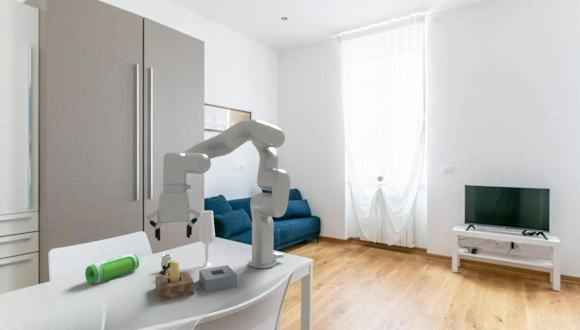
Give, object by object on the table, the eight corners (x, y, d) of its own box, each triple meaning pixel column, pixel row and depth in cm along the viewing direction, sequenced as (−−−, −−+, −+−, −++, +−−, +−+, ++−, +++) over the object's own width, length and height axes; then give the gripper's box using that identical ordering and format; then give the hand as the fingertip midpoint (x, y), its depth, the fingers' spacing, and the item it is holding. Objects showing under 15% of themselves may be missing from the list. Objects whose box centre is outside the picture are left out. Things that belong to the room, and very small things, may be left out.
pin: (178, 288, 108) (178, 260, 108) (179, 291, 106) (179, 262, 105) (169, 290, 107) (169, 261, 107) (170, 293, 104) (170, 264, 104)
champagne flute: (216, 264, 136) (216, 210, 135) (212, 269, 129) (213, 212, 128) (200, 264, 136) (201, 209, 135) (196, 269, 129) (197, 212, 128)
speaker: (129, 268, 129) (129, 250, 129) (140, 272, 126) (140, 254, 125) (84, 283, 114) (84, 263, 114) (95, 287, 111) (94, 267, 110)
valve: (157, 271, 127) (160, 281, 116) (157, 255, 127) (160, 264, 116) (174, 268, 130) (178, 278, 120) (174, 253, 130) (178, 261, 119)
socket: (227, 277, 121) (227, 265, 121) (236, 288, 111) (236, 274, 111) (199, 282, 116) (199, 269, 115) (206, 294, 106) (206, 280, 106)
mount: (188, 284, 114) (188, 271, 114) (194, 297, 104) (194, 282, 104) (155, 290, 108) (155, 276, 108) (158, 304, 99) (158, 288, 99)
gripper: (198, 187, 113) (197, 233, 113) (146, 188, 104) (145, 238, 105) (202, 189, 106) (201, 238, 106) (147, 190, 98) (146, 244, 98)
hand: (173, 238), depth 105 cm, fingers open, 9 cm apart
